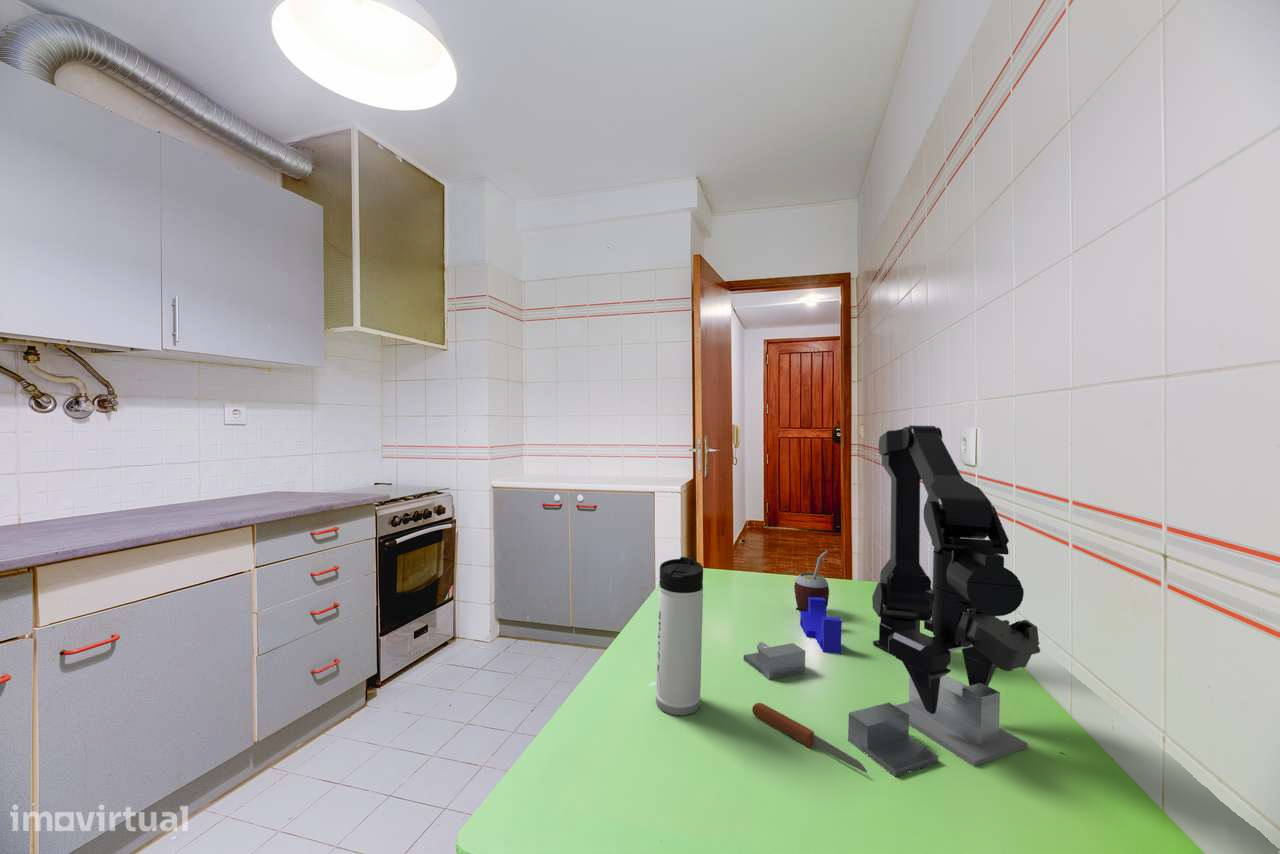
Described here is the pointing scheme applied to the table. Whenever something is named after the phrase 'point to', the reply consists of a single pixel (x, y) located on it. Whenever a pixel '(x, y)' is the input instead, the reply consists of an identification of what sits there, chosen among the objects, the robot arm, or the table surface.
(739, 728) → the table surface
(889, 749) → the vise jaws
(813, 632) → the blue stepped block
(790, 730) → the kitchen knife
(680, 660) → the travel mug
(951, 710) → the steel bar
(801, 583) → the mate gourd
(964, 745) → the mat
